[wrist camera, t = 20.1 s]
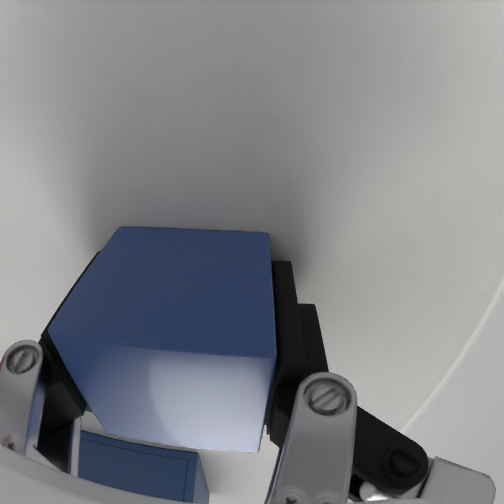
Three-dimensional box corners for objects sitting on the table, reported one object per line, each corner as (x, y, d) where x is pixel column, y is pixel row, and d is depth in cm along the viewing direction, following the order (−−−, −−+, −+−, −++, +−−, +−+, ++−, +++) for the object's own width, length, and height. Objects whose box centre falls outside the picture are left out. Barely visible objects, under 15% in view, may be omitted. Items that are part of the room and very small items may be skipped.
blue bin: (198, 452, 17) (191, 514, 13) (209, 494, 24) (206, 533, 20) (43, 418, 17) (24, 466, 13) (94, 472, 23) (86, 507, 19)
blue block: (269, 232, 9) (276, 355, 5) (258, 341, 11) (259, 453, 8) (119, 226, 9) (46, 329, 5) (140, 332, 11) (106, 434, 7)
